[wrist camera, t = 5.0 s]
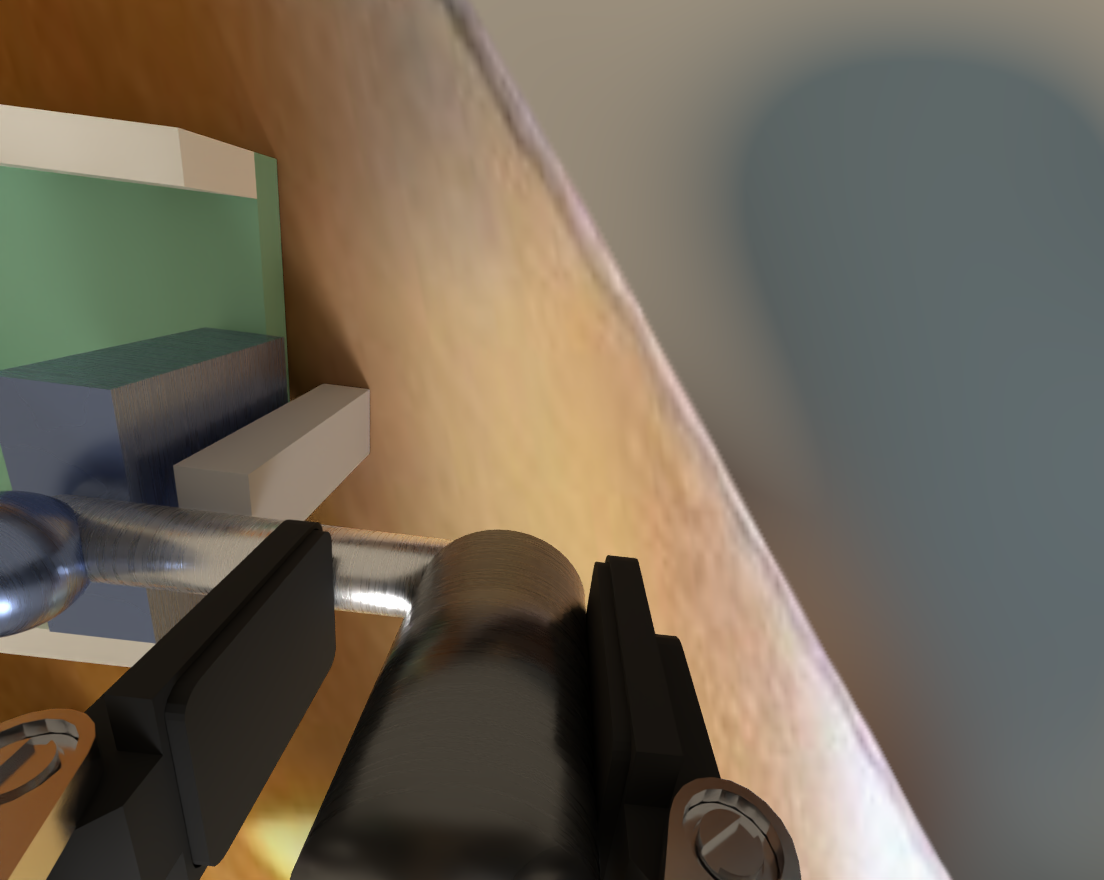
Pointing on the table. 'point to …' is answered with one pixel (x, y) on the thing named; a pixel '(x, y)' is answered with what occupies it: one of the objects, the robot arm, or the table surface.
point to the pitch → (159, 302)
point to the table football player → (359, 586)
